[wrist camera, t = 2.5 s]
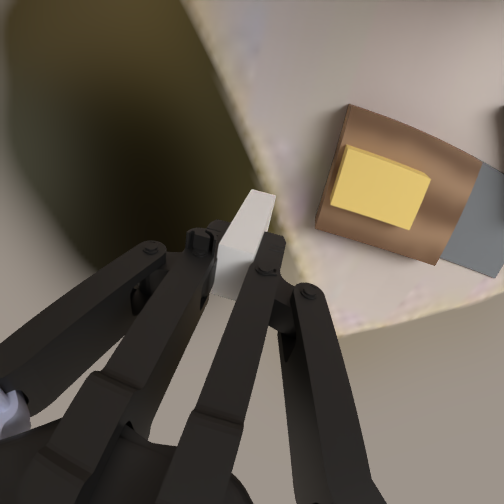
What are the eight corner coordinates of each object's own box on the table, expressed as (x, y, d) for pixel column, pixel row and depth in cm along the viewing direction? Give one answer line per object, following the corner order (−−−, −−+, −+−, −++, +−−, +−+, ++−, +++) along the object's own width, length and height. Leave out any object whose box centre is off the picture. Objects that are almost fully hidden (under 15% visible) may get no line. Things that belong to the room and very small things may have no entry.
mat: (474, 157, 26) (475, 157, 26) (536, 195, 25) (537, 196, 25) (431, 253, 34) (432, 255, 34) (494, 277, 33) (495, 278, 33)
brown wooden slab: (348, 103, 27) (351, 105, 25) (471, 155, 26) (482, 162, 24) (315, 217, 35) (314, 228, 33) (428, 252, 34) (435, 265, 32)
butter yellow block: (346, 144, 27) (348, 148, 25) (424, 173, 26) (431, 179, 25) (329, 197, 30) (330, 204, 29) (405, 222, 30) (409, 230, 28)
